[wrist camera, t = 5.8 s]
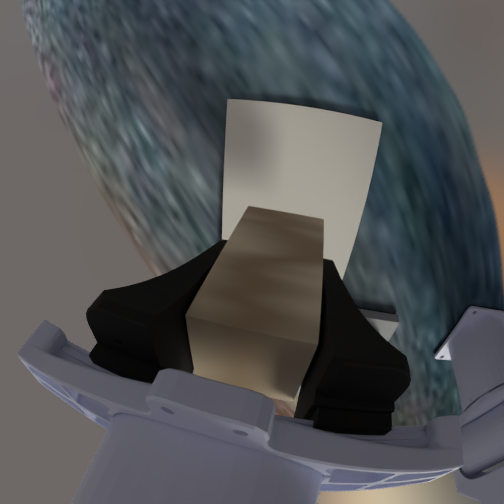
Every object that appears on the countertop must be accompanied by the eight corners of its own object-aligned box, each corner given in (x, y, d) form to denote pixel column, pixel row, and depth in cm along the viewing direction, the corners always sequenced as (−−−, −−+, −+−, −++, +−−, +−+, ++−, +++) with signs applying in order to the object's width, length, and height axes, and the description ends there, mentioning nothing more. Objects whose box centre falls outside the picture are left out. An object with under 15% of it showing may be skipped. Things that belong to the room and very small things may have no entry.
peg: (323, 219, 14) (318, 344, 7) (309, 279, 16) (292, 401, 10) (248, 205, 15) (185, 314, 8) (244, 266, 17) (196, 379, 10)
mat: (381, 122, 15) (382, 122, 14) (337, 291, 23) (337, 294, 22) (229, 98, 16) (227, 99, 16) (222, 268, 24) (221, 271, 24)
